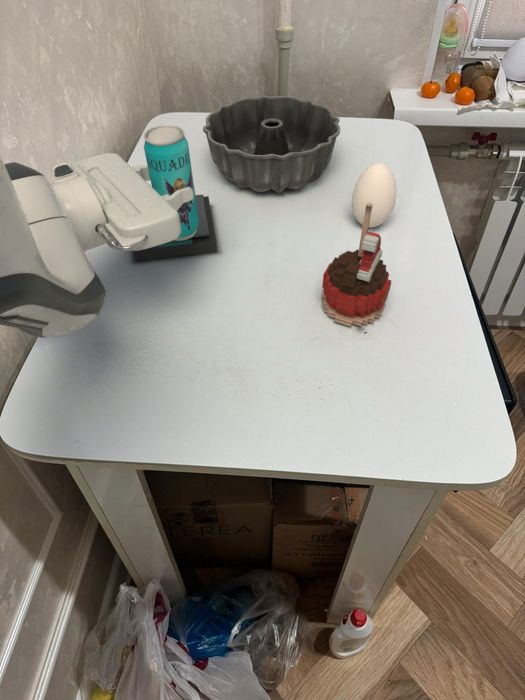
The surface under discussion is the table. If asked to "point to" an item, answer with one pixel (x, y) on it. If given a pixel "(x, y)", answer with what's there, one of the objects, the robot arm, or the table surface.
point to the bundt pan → (271, 141)
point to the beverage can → (172, 170)
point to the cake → (357, 281)
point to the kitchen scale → (195, 245)
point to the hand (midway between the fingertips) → (178, 180)
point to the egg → (374, 194)
